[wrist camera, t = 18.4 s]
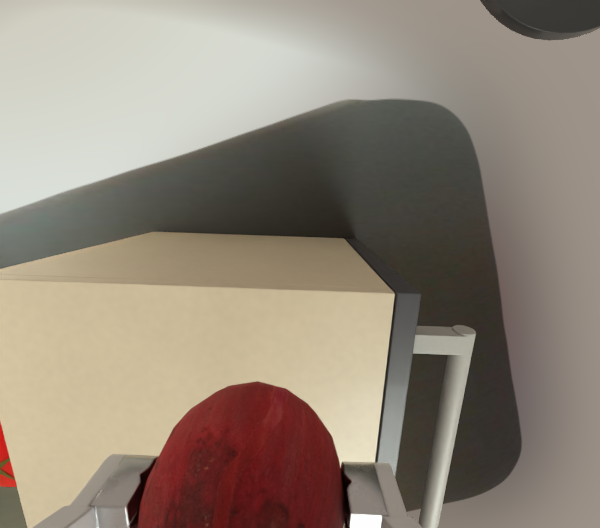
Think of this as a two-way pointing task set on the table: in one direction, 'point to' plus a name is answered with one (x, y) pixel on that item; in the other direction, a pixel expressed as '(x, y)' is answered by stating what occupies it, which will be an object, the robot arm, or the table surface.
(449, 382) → the oven door
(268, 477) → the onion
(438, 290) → the table surface
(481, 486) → the table surface
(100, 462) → the oven
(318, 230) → the table surface
